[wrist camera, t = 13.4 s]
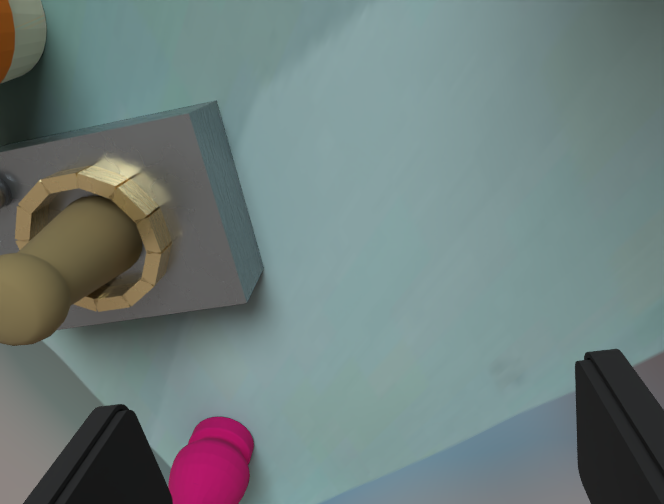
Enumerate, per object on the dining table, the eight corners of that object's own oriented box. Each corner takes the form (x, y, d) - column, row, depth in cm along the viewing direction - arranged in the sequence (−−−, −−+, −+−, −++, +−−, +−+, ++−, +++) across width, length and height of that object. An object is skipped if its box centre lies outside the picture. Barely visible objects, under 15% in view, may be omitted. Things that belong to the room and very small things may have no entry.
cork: (156, 263, 37) (74, 351, 27) (85, 281, 39) (-19, 372, 29) (118, 185, 35) (14, 251, 25) (44, 208, 36) (-83, 279, 26)
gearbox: (5, 144, 41) (-76, 170, 34) (216, 100, 38) (177, 118, 31) (73, 297, 47) (16, 347, 39) (263, 268, 44) (239, 317, 36)
